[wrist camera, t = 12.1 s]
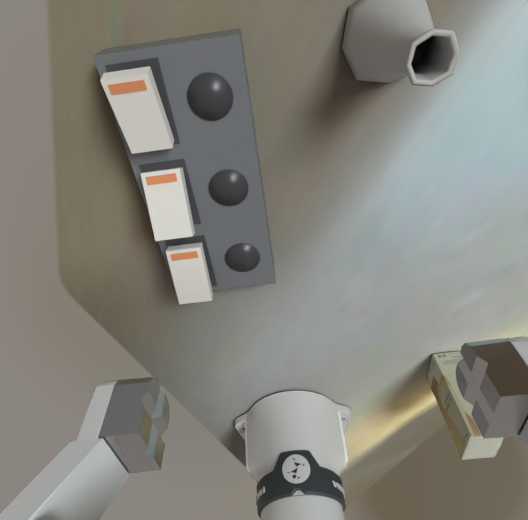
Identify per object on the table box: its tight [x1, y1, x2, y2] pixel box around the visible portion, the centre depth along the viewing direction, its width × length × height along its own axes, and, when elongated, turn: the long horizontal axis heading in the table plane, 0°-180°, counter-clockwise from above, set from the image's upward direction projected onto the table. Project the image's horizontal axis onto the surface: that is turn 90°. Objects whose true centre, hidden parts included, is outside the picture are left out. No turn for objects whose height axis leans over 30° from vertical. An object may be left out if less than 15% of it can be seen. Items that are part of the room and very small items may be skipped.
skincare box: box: [427, 351, 504, 460], centre depth 53 cm, size 6×4×12 cm
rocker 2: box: [166, 242, 213, 304], centre depth 40 cm, size 6×3×1 cm, turn 7°
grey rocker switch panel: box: [93, 29, 276, 294], centre depth 37 cm, size 24×11×4 cm, turn 7°
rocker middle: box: [140, 167, 195, 241], centre depth 35 cm, size 6×3×1 cm, turn 7°
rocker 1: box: [100, 66, 174, 154], centre depth 30 cm, size 6×3×1 cm, turn 7°
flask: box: [342, 0, 460, 86], centre depth 28 cm, size 7×7×10 cm
